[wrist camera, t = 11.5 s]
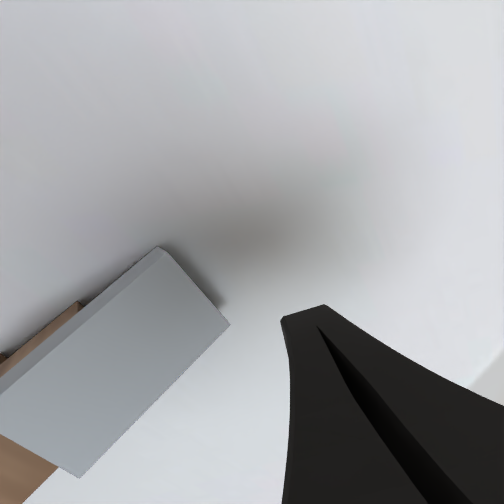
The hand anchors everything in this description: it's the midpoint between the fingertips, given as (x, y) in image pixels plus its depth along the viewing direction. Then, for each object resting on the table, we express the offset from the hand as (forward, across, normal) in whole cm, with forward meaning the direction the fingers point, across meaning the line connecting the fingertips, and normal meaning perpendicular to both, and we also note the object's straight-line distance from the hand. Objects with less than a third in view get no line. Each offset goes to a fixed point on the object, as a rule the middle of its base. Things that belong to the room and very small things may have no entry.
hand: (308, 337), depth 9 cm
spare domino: (+7, +4, +1) cm, 8 cm away
